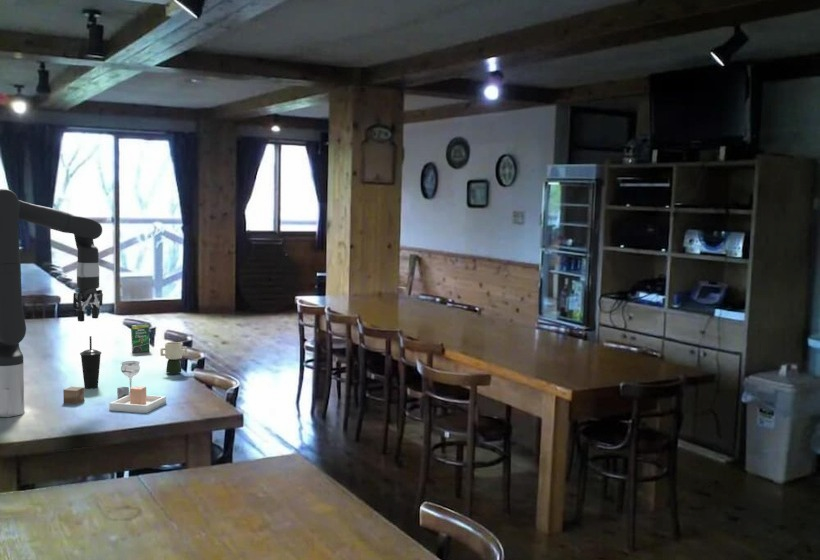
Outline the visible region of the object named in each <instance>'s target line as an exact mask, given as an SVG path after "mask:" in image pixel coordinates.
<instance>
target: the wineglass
mask: <svg viewBox="0 0 820 560" xmlns="http://www.w3.org/2000/svg"><path fill="white" fill-rule="evenodd" d="M120 364H121V367H120V372H121V373H122V374H123V375H124V376H127V377H128V378H129V389H130V388H132V379H133V377H134V376H136V375H137V374H138V373H139V372H140V369H141V366H140V361H137V360H128V361H122V362H121V363H120ZM129 394H130V391H129Z"/></svg>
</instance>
